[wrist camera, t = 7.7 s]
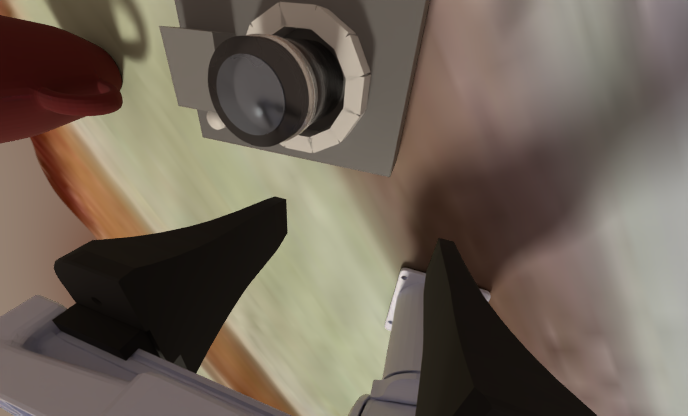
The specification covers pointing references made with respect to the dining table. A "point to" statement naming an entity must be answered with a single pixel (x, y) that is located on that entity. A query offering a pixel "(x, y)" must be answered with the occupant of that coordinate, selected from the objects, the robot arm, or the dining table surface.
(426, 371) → the robot arm
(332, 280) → the dining table surface
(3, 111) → the mug
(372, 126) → the camera body
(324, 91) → the lens
